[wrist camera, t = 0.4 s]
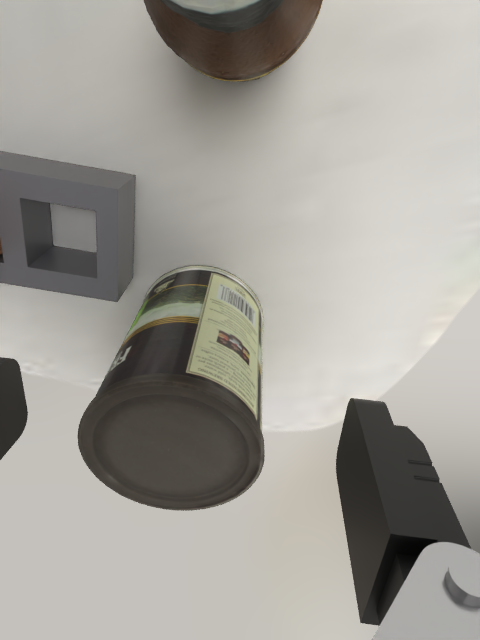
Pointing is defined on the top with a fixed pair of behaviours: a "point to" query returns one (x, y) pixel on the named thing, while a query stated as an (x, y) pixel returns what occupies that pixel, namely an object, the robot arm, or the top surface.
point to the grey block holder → (36, 233)
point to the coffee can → (182, 396)
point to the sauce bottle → (234, 33)
